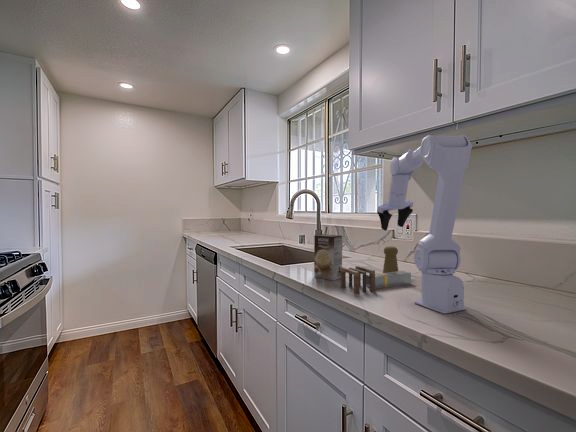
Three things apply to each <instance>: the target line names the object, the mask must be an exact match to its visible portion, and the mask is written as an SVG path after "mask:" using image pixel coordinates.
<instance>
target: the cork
mask: <svg viewBox="0 0 576 432" xmlns="http://www.w3.org/2000/svg"><path fill="white" fill-rule="evenodd" d="M383 253H384V260H383V269H382V273H387V272H396V271H399V266H398V258H397V255H398V253H399V250H398V248H397V247H395V246H385V247H384V248H383Z"/></svg>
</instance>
